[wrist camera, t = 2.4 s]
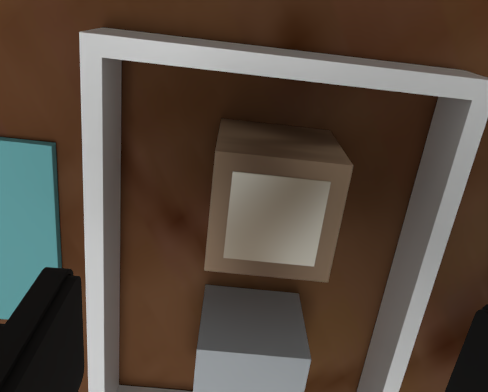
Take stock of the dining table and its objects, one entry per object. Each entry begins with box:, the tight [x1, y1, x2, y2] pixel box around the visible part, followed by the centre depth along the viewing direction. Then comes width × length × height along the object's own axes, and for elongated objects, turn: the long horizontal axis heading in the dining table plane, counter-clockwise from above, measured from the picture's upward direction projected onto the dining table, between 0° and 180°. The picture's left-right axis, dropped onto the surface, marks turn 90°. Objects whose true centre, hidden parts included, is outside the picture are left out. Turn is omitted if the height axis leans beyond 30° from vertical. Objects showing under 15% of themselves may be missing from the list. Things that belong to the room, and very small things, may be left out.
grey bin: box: [79, 27, 488, 392], centre depth 22 cm, size 16×21×3 cm
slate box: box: [193, 285, 311, 392], centre depth 23 cm, size 5×5×5 cm
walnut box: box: [204, 118, 353, 282], centre depth 20 cm, size 5×5×5 cm
